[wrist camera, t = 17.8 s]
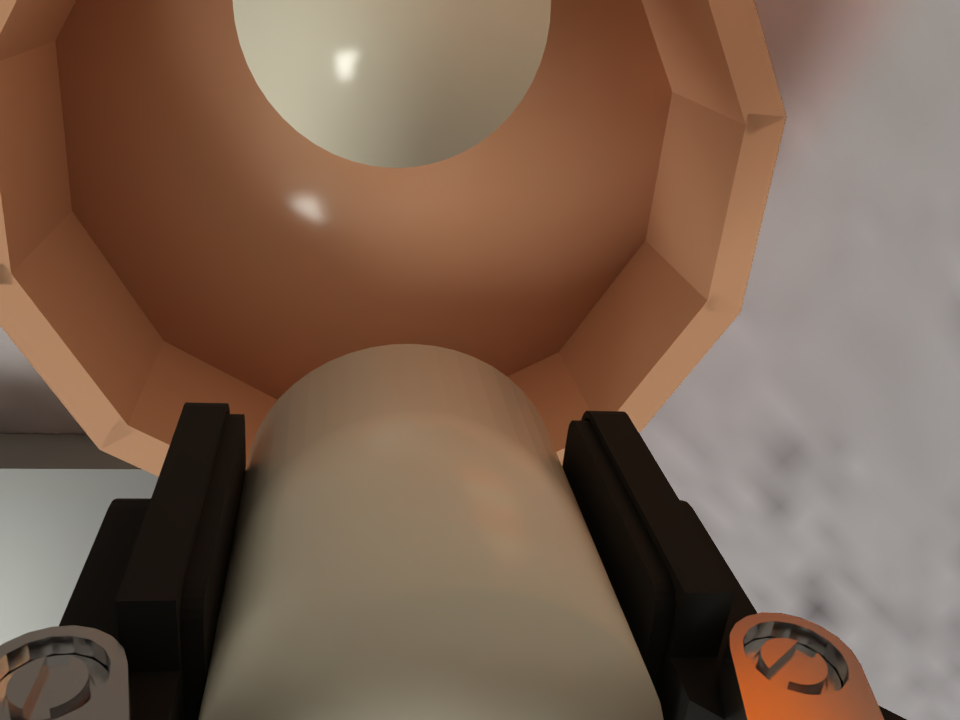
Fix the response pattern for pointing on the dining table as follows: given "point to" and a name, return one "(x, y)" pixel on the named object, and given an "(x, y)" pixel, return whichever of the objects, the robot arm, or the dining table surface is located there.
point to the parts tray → (53, 521)
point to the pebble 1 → (393, 71)
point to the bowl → (372, 216)
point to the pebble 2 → (416, 559)
